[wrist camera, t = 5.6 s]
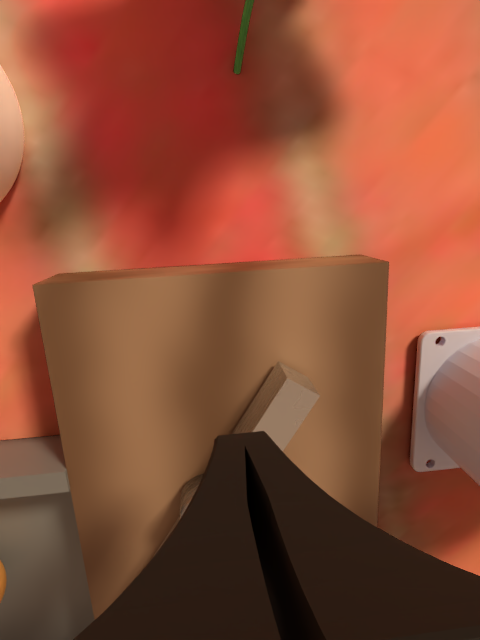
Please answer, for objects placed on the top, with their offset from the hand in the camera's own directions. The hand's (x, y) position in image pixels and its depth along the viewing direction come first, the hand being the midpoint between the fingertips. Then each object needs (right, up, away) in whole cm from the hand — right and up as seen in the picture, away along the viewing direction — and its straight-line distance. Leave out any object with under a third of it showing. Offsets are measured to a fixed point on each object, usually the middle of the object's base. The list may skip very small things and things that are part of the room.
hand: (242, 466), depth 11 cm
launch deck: (-1, -3, +11) cm, 11 cm away
